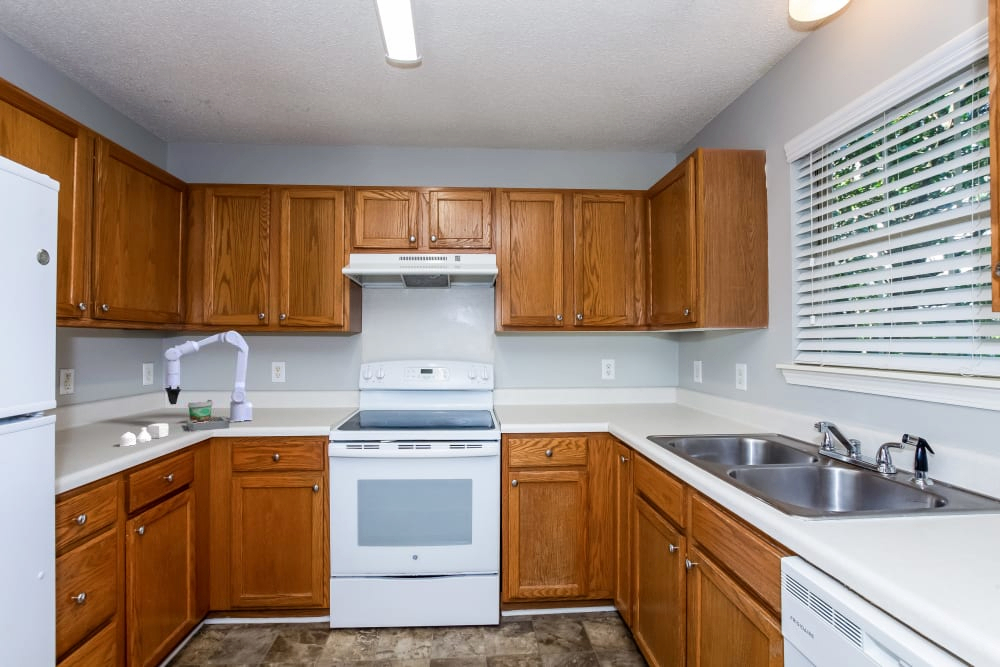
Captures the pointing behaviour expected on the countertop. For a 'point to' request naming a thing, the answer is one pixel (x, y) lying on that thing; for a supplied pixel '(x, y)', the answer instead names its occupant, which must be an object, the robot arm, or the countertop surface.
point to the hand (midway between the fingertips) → (172, 403)
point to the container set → (145, 434)
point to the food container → (200, 411)
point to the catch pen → (208, 425)
